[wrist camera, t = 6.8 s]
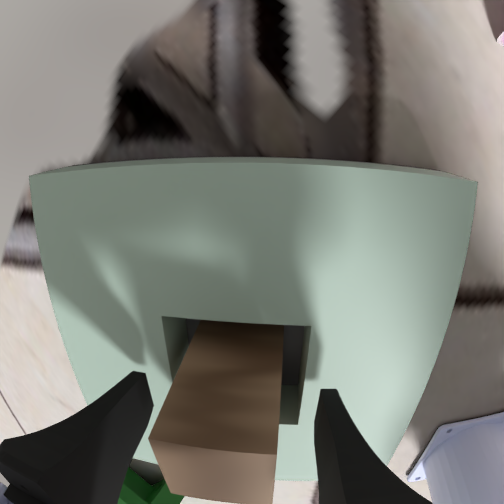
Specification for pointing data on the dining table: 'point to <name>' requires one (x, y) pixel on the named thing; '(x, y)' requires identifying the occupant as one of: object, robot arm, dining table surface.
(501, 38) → the lily
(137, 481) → the clamp
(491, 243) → the dining table surface
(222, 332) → the post
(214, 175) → the well block
